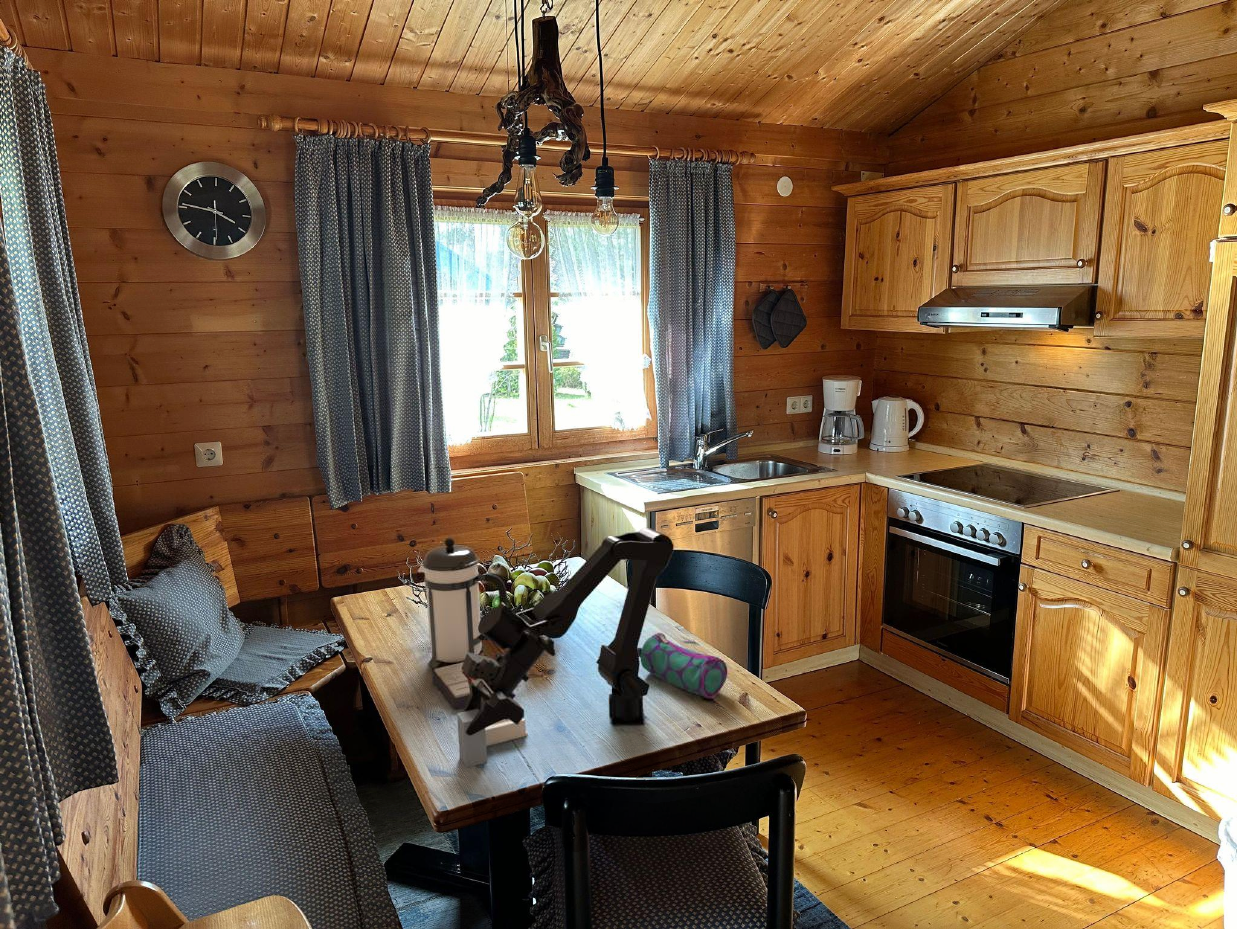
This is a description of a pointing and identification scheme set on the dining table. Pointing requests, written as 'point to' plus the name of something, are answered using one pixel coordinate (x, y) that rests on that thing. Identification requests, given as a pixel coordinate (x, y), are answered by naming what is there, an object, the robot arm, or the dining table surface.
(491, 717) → the robot arm
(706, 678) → the pencil case
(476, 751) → the grey rectangular prism
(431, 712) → the dining table surface
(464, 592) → the coffee press
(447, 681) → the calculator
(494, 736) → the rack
